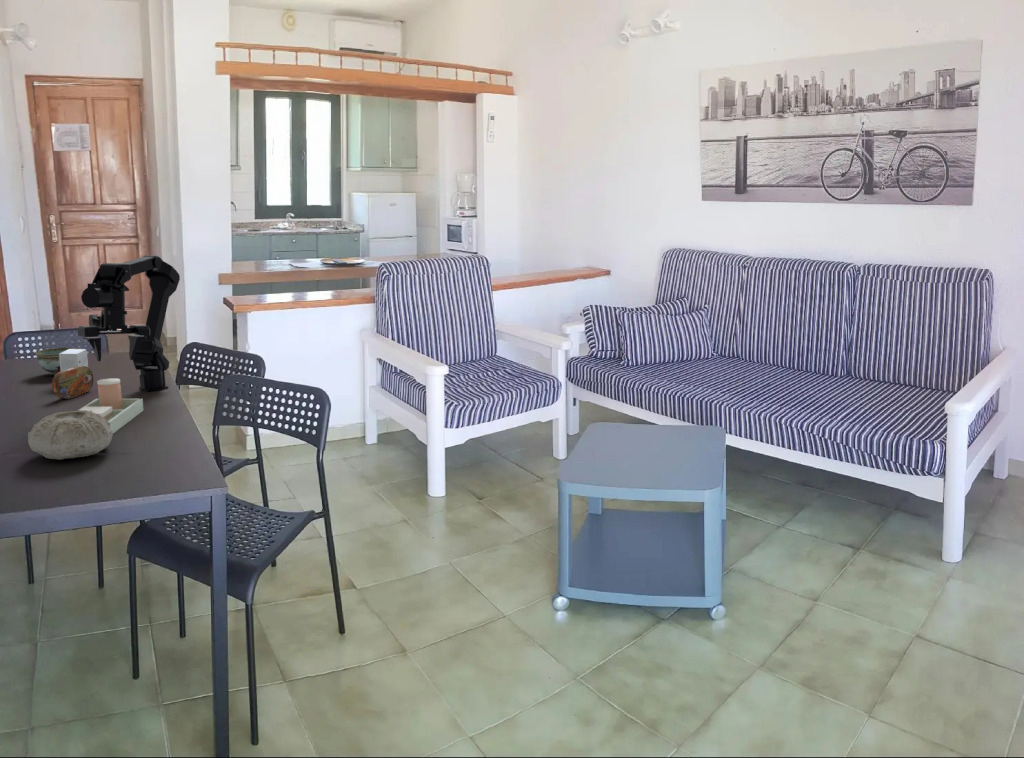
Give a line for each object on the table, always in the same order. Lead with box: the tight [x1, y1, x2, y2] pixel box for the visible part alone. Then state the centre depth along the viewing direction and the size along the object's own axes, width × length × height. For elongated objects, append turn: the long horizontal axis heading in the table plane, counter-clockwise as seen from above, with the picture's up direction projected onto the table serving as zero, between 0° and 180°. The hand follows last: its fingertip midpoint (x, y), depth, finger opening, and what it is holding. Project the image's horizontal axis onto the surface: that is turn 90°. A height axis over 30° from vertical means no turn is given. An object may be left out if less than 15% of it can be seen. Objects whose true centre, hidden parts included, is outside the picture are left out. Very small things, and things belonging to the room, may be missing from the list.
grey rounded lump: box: [27, 409, 114, 461], centre depth 199 cm, size 18×18×10 cm
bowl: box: [34, 347, 80, 376], centre depth 280 cm, size 14×13×8 cm
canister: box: [96, 377, 123, 410], centre depth 229 cm, size 6×6×10 cm
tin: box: [51, 366, 94, 400], centre depth 253 cm, size 15×3×8 cm, turn 168°
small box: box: [59, 348, 89, 371], centre depth 268 cm, size 8×6×10 cm
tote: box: [78, 398, 144, 434], centre depth 224 cm, size 24×13×4 cm, turn 5°
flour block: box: [79, 406, 113, 421], centre depth 218 cm, size 7×7×5 cm
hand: (115, 360), depth 245 cm, fingers open, 9 cm apart
